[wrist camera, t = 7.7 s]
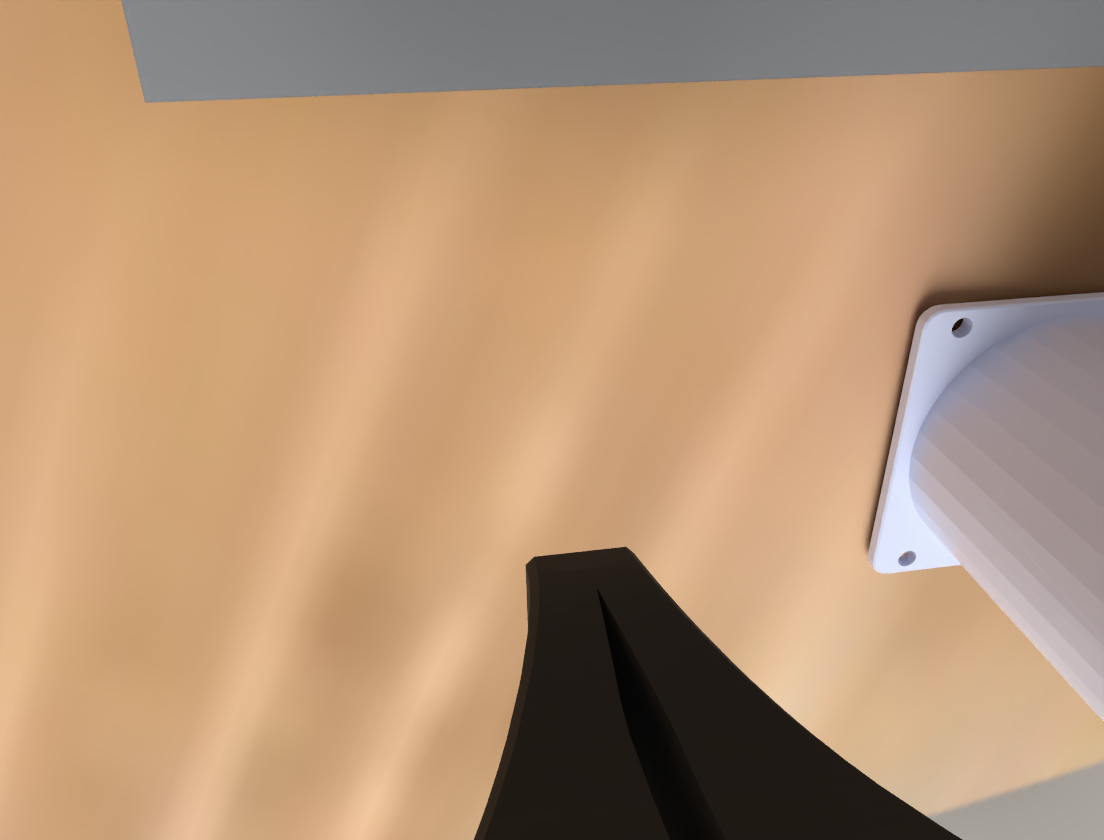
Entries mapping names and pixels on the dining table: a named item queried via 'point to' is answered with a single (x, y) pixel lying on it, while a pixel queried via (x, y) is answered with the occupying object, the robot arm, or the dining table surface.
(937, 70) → the console
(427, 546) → the dining table surface
